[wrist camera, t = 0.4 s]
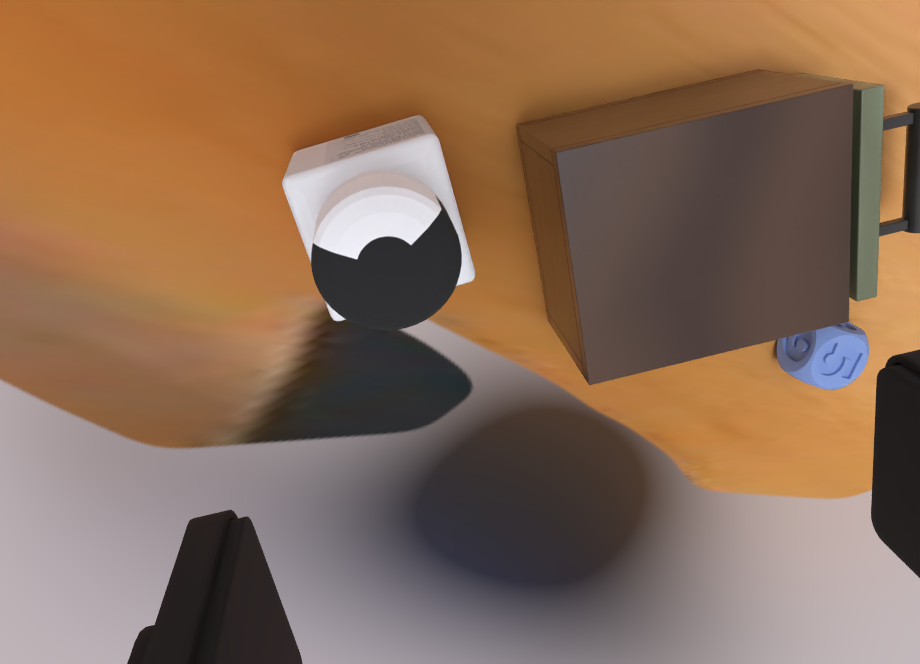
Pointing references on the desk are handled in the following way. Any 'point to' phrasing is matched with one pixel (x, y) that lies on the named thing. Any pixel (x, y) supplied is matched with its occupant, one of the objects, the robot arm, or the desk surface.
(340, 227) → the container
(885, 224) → the drawer
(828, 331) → the decorative dice
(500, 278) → the desk surface
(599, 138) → the cabinet
